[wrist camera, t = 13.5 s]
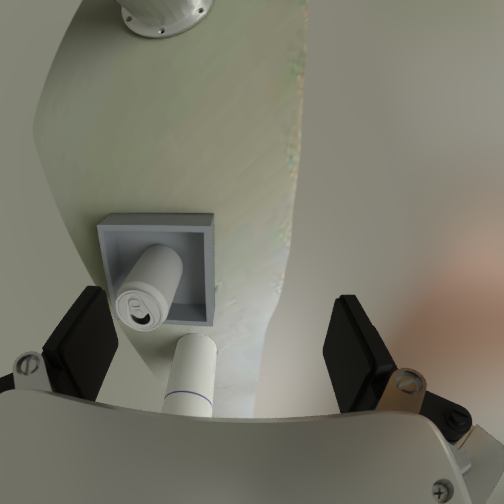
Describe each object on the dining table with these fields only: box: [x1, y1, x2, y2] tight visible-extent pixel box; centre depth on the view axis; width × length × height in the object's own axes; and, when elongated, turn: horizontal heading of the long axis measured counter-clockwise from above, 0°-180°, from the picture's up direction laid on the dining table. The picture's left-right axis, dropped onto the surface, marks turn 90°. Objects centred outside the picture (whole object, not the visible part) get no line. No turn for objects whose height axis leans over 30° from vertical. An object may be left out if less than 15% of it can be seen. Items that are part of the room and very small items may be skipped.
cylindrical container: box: [162, 334, 217, 417], centre depth 37 cm, size 7×7×25 cm
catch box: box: [97, 213, 215, 326], centre depth 39 cm, size 15×15×5 cm
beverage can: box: [115, 245, 183, 332], centre depth 35 cm, size 6×6×12 cm
